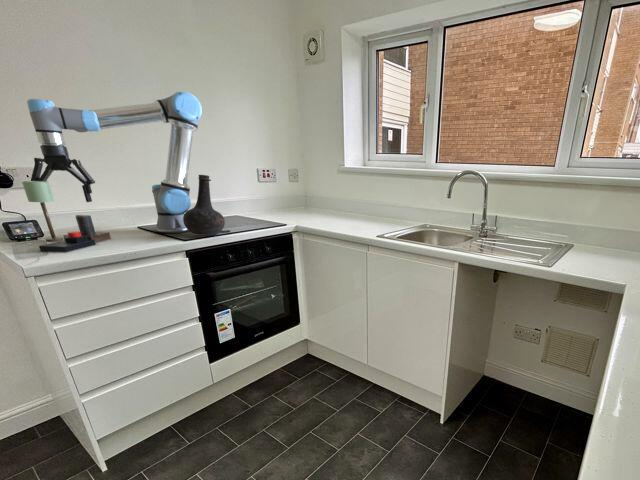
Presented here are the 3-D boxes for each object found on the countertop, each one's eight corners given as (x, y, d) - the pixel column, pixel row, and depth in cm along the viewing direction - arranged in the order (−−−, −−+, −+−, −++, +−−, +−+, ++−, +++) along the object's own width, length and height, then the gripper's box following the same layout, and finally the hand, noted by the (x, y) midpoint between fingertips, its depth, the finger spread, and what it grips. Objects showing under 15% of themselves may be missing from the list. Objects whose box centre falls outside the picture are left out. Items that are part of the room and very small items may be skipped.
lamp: (71, 239, 140) (53, 181, 132) (55, 242, 133) (35, 182, 125) (54, 238, 140) (35, 180, 132) (37, 242, 133) (15, 181, 125)
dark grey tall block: (98, 233, 156) (93, 214, 153) (91, 235, 151) (85, 216, 148) (85, 233, 155) (80, 214, 152) (78, 235, 150) (72, 216, 147)
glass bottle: (183, 235, 160) (180, 171, 154) (184, 231, 175) (181, 172, 168) (226, 237, 170) (225, 177, 163) (223, 233, 184) (222, 178, 177)
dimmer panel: (112, 238, 160) (110, 232, 159) (92, 244, 150) (89, 236, 149) (85, 237, 160) (83, 231, 159) (63, 242, 150) (60, 235, 149)
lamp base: (96, 244, 150) (94, 235, 148) (66, 252, 136) (62, 242, 135) (73, 243, 150) (70, 234, 148) (40, 251, 136) (37, 241, 135)
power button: (84, 236, 147) (82, 231, 146) (75, 238, 143) (74, 233, 142) (74, 236, 147) (73, 231, 146) (66, 238, 143) (64, 233, 142)
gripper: (96, 147, 142) (109, 201, 149) (20, 143, 136) (38, 200, 143) (85, 146, 135) (100, 202, 143) (5, 142, 129) (25, 202, 137)
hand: (69, 201), depth 143 cm, fingers open, 13 cm apart
